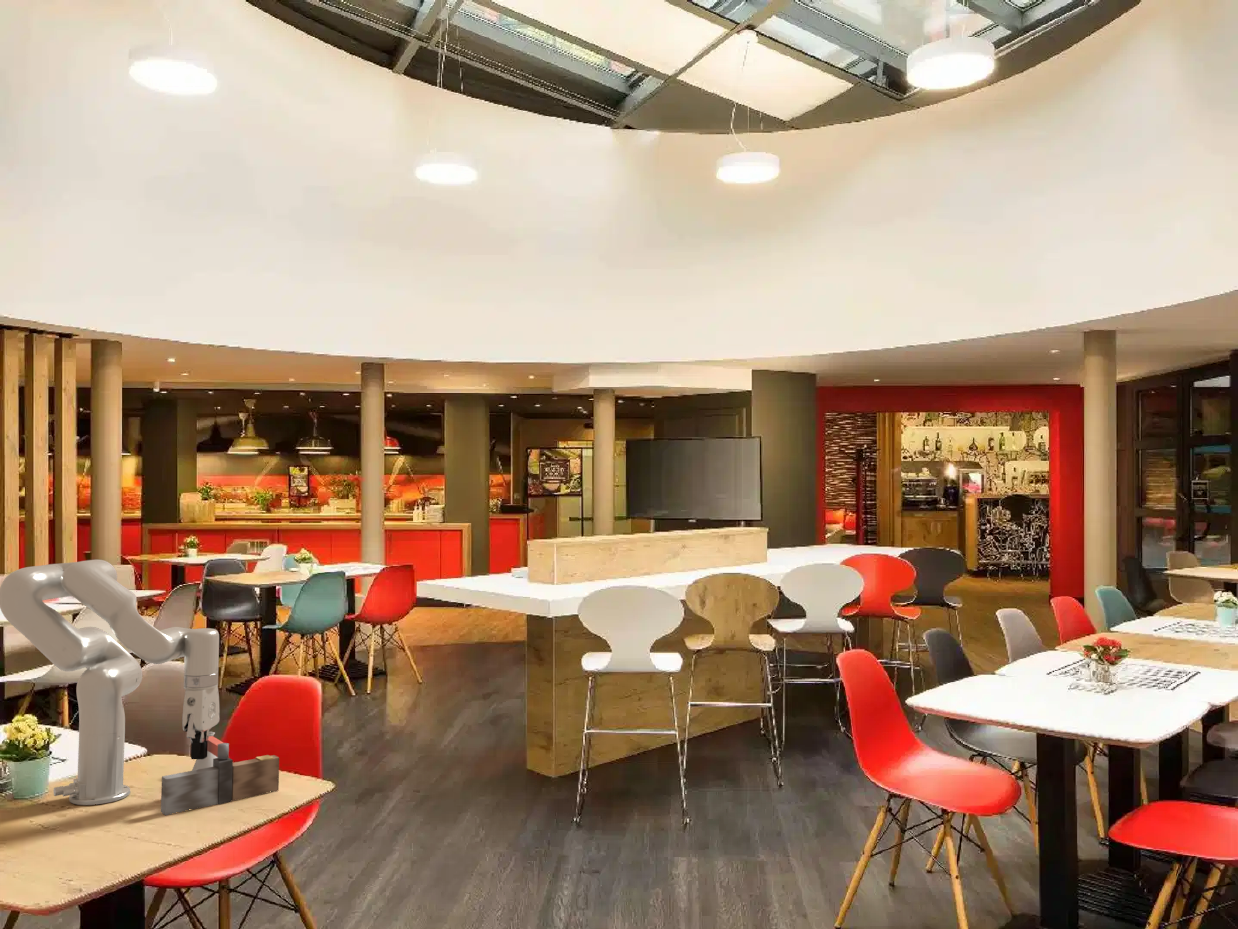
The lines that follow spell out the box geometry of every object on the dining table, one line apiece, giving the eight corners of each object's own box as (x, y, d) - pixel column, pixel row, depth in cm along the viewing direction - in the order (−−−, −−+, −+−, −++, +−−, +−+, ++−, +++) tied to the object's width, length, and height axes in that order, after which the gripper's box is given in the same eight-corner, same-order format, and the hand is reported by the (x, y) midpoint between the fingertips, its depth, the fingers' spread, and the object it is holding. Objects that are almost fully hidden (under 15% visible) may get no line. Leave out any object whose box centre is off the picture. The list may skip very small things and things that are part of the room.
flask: (227, 768, 241) (228, 730, 241) (212, 776, 234) (213, 737, 234) (201, 767, 242) (202, 729, 242) (185, 775, 234) (186, 736, 235)
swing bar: (229, 758, 215) (230, 744, 215) (219, 760, 214) (219, 746, 214) (213, 747, 224) (213, 734, 224) (202, 749, 223) (203, 735, 223)
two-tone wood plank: (166, 816, 204) (167, 772, 205) (160, 811, 207) (161, 768, 208) (279, 791, 222) (280, 751, 223) (272, 787, 225) (273, 747, 226)
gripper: (202, 687, 211) (200, 767, 211) (230, 675, 226) (228, 750, 226) (170, 687, 212) (167, 767, 211) (199, 675, 226) (197, 749, 226)
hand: (199, 758), depth 218 cm, fingers closed
